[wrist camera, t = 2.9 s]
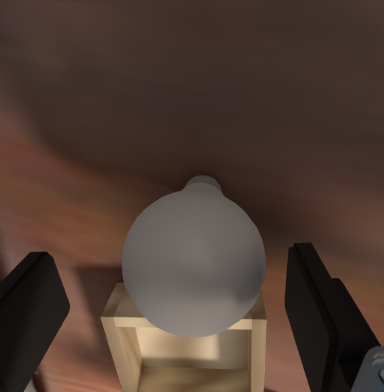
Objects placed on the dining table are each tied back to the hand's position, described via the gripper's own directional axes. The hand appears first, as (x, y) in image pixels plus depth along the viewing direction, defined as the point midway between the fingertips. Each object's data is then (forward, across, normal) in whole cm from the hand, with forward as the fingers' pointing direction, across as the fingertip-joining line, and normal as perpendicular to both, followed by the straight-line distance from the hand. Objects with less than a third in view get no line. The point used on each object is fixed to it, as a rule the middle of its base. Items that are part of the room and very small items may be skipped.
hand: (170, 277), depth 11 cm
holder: (+9, +1, +14) cm, 17 cm away
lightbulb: (+10, -1, 0) cm, 10 cm away
